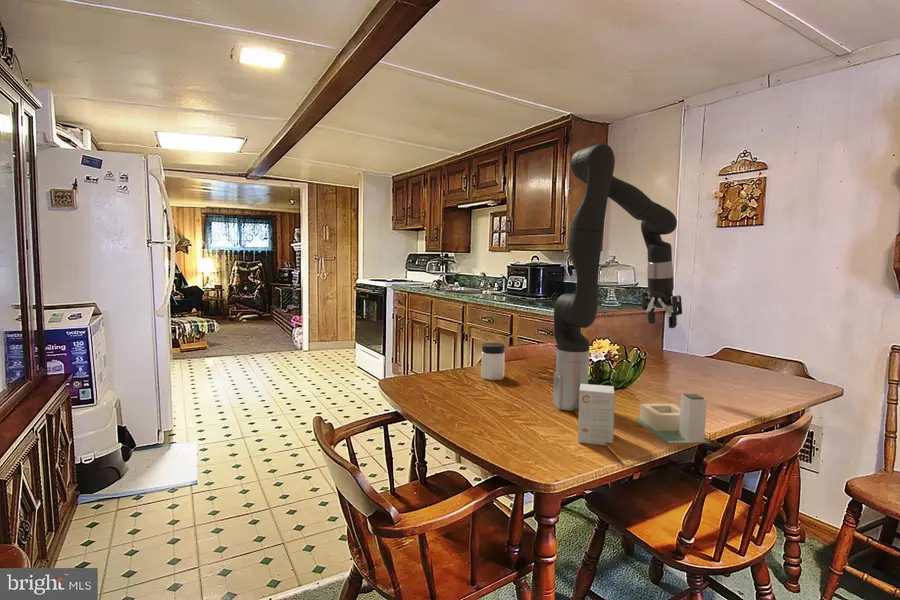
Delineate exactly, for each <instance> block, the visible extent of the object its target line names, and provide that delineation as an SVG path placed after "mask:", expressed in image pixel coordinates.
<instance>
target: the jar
mask: <svg viewBox="0 0 900 600" xmlns="http://www.w3.org/2000/svg"><path fill="white" fill-rule="evenodd" d="M505 349H506V348H505V344H504V343H501V342H484V343H482V344H481V361H480V362H481V363H480V364H481V366H480V367H481V369H480V373H481V374H480V375H481V376H480V378H481V379H483V380H484V379H486V380H489V381H499V380H503V379H504V378H505Z"/></svg>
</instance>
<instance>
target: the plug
mask: <svg viewBox="0 0 900 600" xmlns="http://www.w3.org/2000/svg"><path fill="white" fill-rule="evenodd" d="M707 401H708V400H707V399H706V398H705V397H703V396H702V395H699V394H697V393H683V394H680V407H679V408H680V423H679V435H680V436H682V437H683V438H685V439H686V440H687V441H694V440H704V438H705V432H706V431H705V430H706V418H707V417H706V416H707V414H706V413H707Z"/></svg>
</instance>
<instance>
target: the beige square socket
mask: <svg viewBox="0 0 900 600" xmlns="http://www.w3.org/2000/svg"><path fill="white" fill-rule="evenodd" d="M639 406H640V407H639V418H640V419H641V420H642V421H644V422H645V423H646V424H648V425H649V426H650V427H652V428H653V429H654V430H655V431H679V423H680V407H679V406H678V405H676V404H674V403H659V402H653V403H640V405H639Z"/></svg>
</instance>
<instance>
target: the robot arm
mask: <svg viewBox="0 0 900 600" xmlns="http://www.w3.org/2000/svg"><path fill="white" fill-rule="evenodd" d="M615 161H616V158H615V153H614V151H613V149H612V147H611V146H609V144H606V143H598V144H595V145H592V146H591V145H590V146H588V147H584V148H582V149H580V150H578V151H576V152H575V153H574V154H573V155H572V157H571V160H570V170H571V172H572V174H573V176H574V177H576V178H577V179H578V180H579V181H581V182H583V183H584V184H586V189H585V193H584V197H583V199H582V201H581V203H580V205H579V207H578V209H577V210H576V212H575V214H574V216H573V219H572V220H571V224H570V228H569V235H568V245H567V247H568V253H569V257H570V259H571V263H572V265H573V268H574V271H575V274H576V288H575V293H563V294H560V295H559V297H558V298H557V300H556V301H555V304H554V309H553V333H554V334H553V335H554V339H555V342H556V359H555V362H556V365H555V372H553V388H552V389H553V390H552V391H553V393H552V404H553V405H554V406H555V408H556V409H557V410H561V411H569V412H575V409H576V410H577V409H578V410H579V389H580V384H589V372H590V371H589V370H590V369H589V366H590V364H589V363H590V341H589V339H588V338H587V337H585V336H584V335H583V333H582V332H581V330H580V328H581V329H586V328H589V327H590V326H591V325H593V323H594V322H595V320H596V317H597V314H598V306H599V305H598V300H599V297H598V296H599V294H598V292H599V290H598V289H599V270H600V261H601V251H602V246H603V239H604V238H603V237H604V230H605V229H604V228H605V227H604V226H605V218H606V212H607V204H608V199H609V200H612V201H613V202H614V203H616V204H617V205H618V206H619V207H621V208H622V209H623V210H624V211H625V212H626V213H628V214H629V215H630V216H631V217H632V218H633V219H635V220H638V221H641V222H640V231H641V234H642V237H643V240H644V244H645V246H646V251H647V267H646V271H647V291H645V292H642V294H641V295H642V297H641V298H642V299H641V301H642V302H641V303H642V304H641V305H642V307H641V308H642V310H643V311H645V312H646V313H647V321H648V324H650V325H654V324H655V323H656V312H655V311H656V309H657V308H660V309H663V310H664V311H665V312H666V313H667V315H668V328H669V329H675V328H676V327H677V325H678V322H677V318H678V317H677V316H679V315H683V305H682V303H683V302H682V296H681V295H673V290H674V289H675V287H674V286H675V285H674V282H675V281H674V279H675V278H674V264H673V256H672V255H673V248H672V244H670V243H669V242H668V241H664V240H663V239H662V236H664V235H670V234H671V233H673V232H674V231H675V230H676V228H677V226H678V220H677V217H676V215H675V214H674V213H673V212H672V211H671V210H670V209H668V208H667V207H664V206H663V205H660V204H659V203H657V202H655V201H653V200H652V199H651V198H649V196H647V195H646V194H645V193H644V192H643V191H642V190H641V189H639V188H638V187H636V186H635V185H634V184H633V185H632V184H631V183H628V182H627V181H624V180H622V179H619V178H617V177H616V176H614V171H615V165H616V162H615ZM661 235H662V236H661Z"/></svg>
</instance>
